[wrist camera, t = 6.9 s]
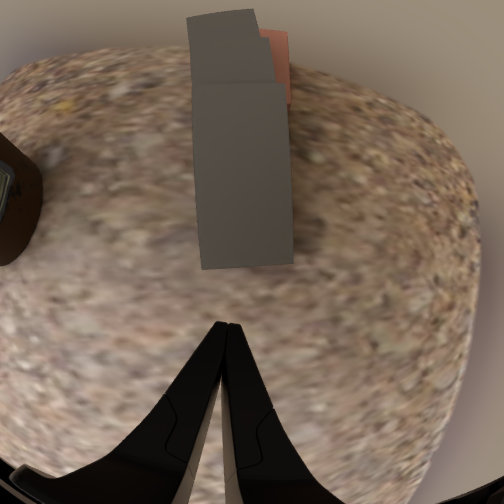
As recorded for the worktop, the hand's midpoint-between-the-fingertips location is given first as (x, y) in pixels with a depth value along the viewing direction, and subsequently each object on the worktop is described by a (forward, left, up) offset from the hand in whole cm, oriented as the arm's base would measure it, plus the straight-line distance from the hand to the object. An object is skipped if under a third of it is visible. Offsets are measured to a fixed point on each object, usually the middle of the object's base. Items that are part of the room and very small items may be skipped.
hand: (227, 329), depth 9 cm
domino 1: (+2, -3, -6) cm, 7 cm away
